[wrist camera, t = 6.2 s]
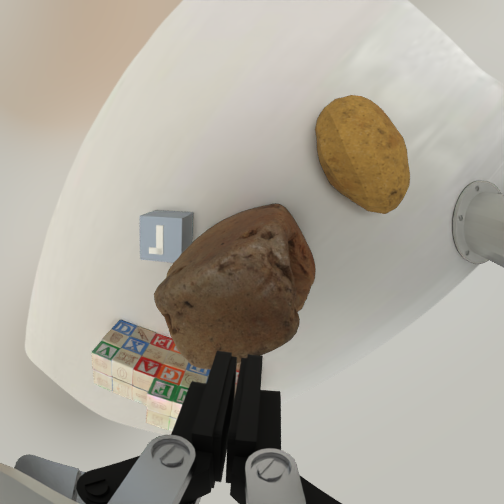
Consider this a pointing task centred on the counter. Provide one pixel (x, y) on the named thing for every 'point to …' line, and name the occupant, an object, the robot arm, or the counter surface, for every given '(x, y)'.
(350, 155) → the potato
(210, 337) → the brown rock
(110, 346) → the stack of blocks
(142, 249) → the alphabet block
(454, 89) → the counter surface
